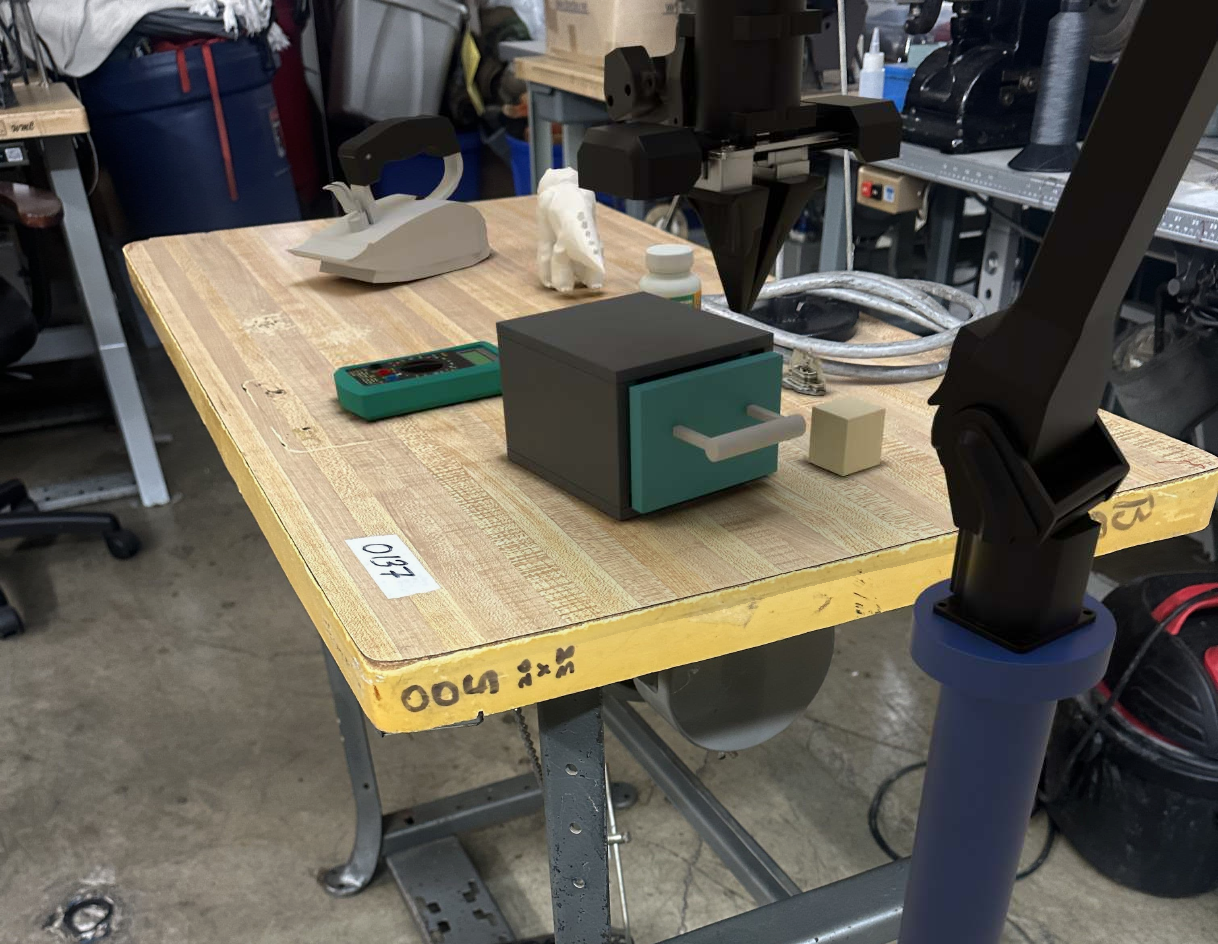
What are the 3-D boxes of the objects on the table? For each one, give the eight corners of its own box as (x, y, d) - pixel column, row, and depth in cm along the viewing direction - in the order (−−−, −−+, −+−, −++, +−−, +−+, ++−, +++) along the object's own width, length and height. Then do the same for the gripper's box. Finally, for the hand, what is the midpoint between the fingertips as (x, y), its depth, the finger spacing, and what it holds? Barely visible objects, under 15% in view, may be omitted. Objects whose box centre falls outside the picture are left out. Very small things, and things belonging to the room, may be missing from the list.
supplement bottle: (669, 354, 105) (668, 238, 99) (713, 366, 102) (715, 247, 96) (626, 368, 102) (624, 250, 96) (671, 381, 99) (671, 259, 93)
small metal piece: (767, 378, 99) (769, 342, 97) (791, 374, 99) (793, 338, 97) (803, 398, 94) (805, 361, 92) (828, 394, 95) (831, 357, 93)
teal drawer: (826, 493, 76) (836, 372, 72) (689, 539, 71) (690, 412, 67) (660, 420, 89) (659, 312, 84) (533, 455, 84) (524, 342, 79)
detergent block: (880, 464, 82) (886, 407, 80) (842, 476, 81) (848, 419, 78) (844, 450, 85) (849, 394, 82) (807, 461, 83) (811, 405, 81)
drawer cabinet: (767, 475, 81) (774, 332, 76) (620, 521, 76) (615, 371, 70) (645, 420, 91) (643, 290, 85) (507, 458, 86) (495, 321, 80)
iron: (291, 285, 130) (262, 132, 121) (449, 244, 145) (434, 104, 136) (353, 299, 125) (328, 139, 116) (511, 254, 139) (499, 109, 130)
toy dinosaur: (581, 265, 133) (576, 156, 126) (640, 319, 115) (638, 193, 108) (523, 271, 132) (515, 161, 125) (573, 326, 113) (567, 200, 107)
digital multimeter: (330, 401, 98) (324, 365, 96) (491, 369, 103) (488, 335, 101) (358, 426, 93) (352, 388, 91) (526, 392, 98) (524, 356, 96)
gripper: (784, -24, 68) (770, 263, 78) (511, -4, 60) (534, 313, 70) (925, -23, 61) (891, 294, 70) (636, 0, 53) (642, 354, 62)
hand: (740, 311), depth 68 cm, fingers closed
